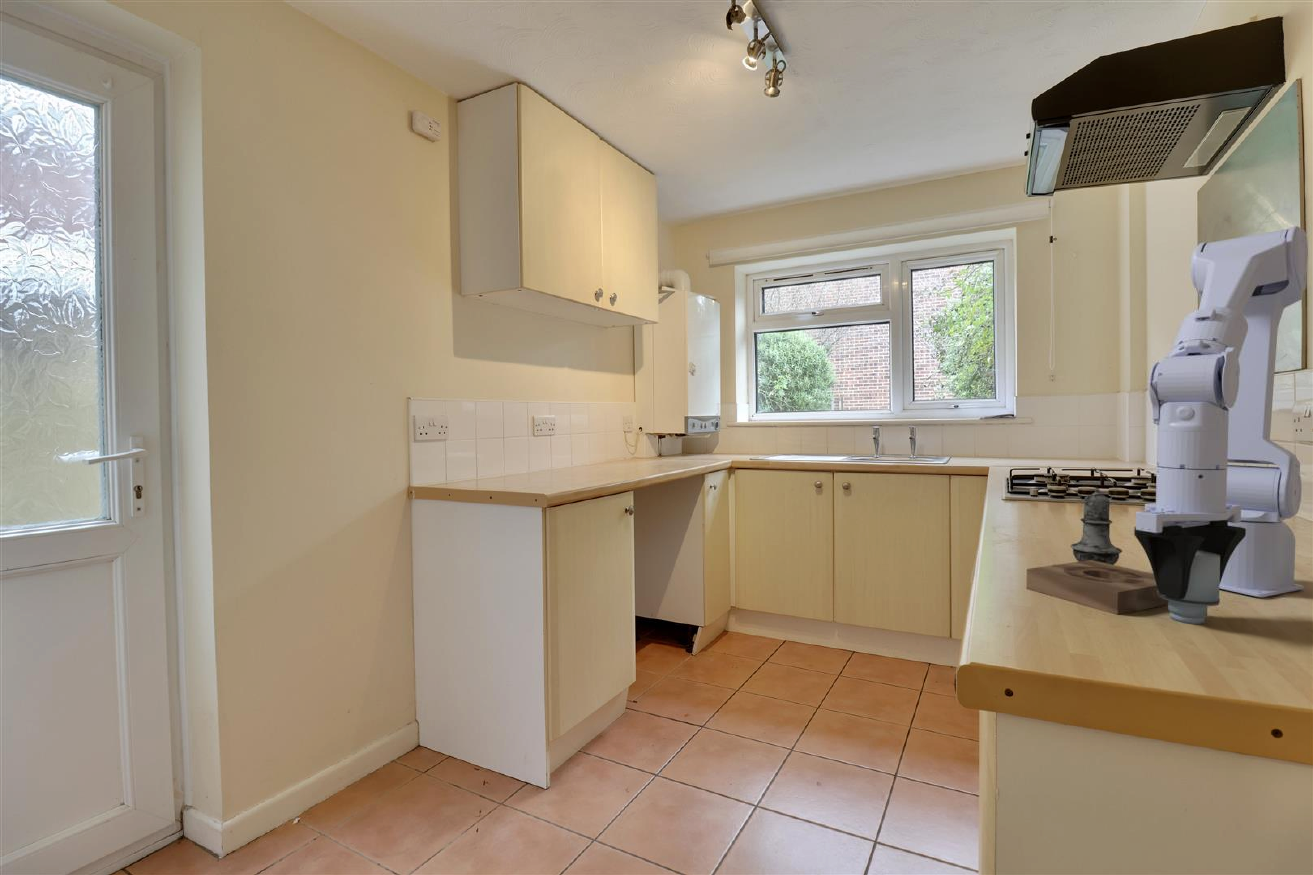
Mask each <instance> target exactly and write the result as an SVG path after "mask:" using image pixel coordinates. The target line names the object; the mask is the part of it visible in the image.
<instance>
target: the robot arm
mask: <svg viewBox="0 0 1313 875" xmlns="http://www.w3.org/2000/svg"><path fill="white" fill-rule="evenodd" d="M1308 258H1309V242H1308V236H1307V234H1306V231H1305V230H1304V229H1303V228H1301V227H1299V225H1294V226H1291V227H1289V228H1285V229H1280V230H1275V231H1269V232H1263V233H1258V234H1252V235H1247V236H1240V237H1235V238H1228V239H1223V240H1218V241H1213V242H1212V241H1211V242H1208V241H1205V242H1201V243H1199V244H1198V245H1197V246H1196V247H1195V249H1193V251H1192V254H1191V258H1190V278H1191V282H1192V285H1193V286H1194V288H1195V290H1196V292H1197V294H1198V296H1199V299H1200V303H1199V307H1198V309H1196V310H1193V311H1192V312H1190V313H1189V314H1188V315H1187V316H1185V317H1184V318H1183V319H1182V322H1181V324H1180V327H1179V328H1178V332H1177V333H1176V336H1175V339H1174V342H1173V343H1172V347H1171V348H1170V351H1169V353H1168V356H1165V357H1163V359H1162V360H1161V362H1159V361H1157V362H1154V364H1153V366H1152V367H1151V370H1150V374H1149V378H1148V380H1149V382H1148V390H1149V392H1148V393H1149V398H1150V403H1151V406H1152V420H1153V421H1152V423H1153V424H1154V425H1157V444H1156V445H1157V446H1156V480H1155V481H1156V486H1155V502H1151V503H1145V504H1144V510H1140V511H1136V512H1135V526H1134V529H1133V530H1134V532H1133V534H1134V537H1135V538H1136V540H1138V543H1140V545H1141V547H1142V548H1143V551H1144V552H1145V554H1146V557H1147V558H1148V561H1149V563H1150V567H1151V570H1152V573H1153V574H1154V578H1155V581H1156V585H1157V588H1158V591H1159V594H1161V595H1165V596H1169V597H1174V598H1178V599H1183V598H1185V595H1186V593H1187V589H1188V584H1189V577H1190V570H1191V566H1192V563H1193V559H1194V557H1195V554H1196V552H1197V550H1201V551H1207V552H1211V553H1215V554H1218V555H1220V583H1219V590H1220V589H1221V590H1224V591H1228V592H1234V593H1237V594H1243V595H1247V596H1253V597H1256V598H1267V597H1270V596H1276V595H1280V594H1286V593H1291V592H1295V591H1300V590H1304V589H1305V585H1303V584H1299V583H1295V567H1296V566H1295V565H1296V563H1295V562H1296V537H1295V534H1294V532H1293V530H1292V529H1291V528H1290V526H1288V524H1287V523H1285V522H1284V520H1286V519H1291V518H1293V517H1294V516H1296V515H1297V514H1298V513H1299V511H1300V506H1301V501H1302V491H1303V490H1302V477H1301V463H1300V460H1299V459H1298V458H1297V456H1296V454H1294V453H1293V452H1291V451H1290V450H1288V449H1287V448H1285V447H1283V446H1281V445H1280V444H1278V443H1276V442H1274V441H1272V439H1271V426H1272V413H1273V399H1274V398H1273V397H1274V386H1275V371H1276V359H1277V358H1276V356H1277V344H1278V343H1277V342H1278V331H1279V330H1278V329H1279V325H1280V322H1281V319H1282V317H1283V316H1282V315H1283V312H1284V310H1285V309H1286V308H1288V307H1290V306H1292V305H1294V304H1296V303H1297V302H1299V301H1302V300H1303V298H1304V297H1303V296H1304V295H1303V294H1304V291H1305V290H1306V288H1307V273H1308V260H1309V259H1308ZM1228 463H1237V464H1252V465H1236V464H1234V465H1233V464H1228ZM1253 464H1256V465H1257V466H1256V465H1253ZM1259 465H1261V466H1259ZM1262 465H1272V466H1262ZM1273 465H1275V466H1273Z"/></svg>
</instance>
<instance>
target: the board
mask: <svg viewBox="0 0 1313 875" xmlns="http://www.w3.org/2000/svg"><path fill="white" fill-rule="evenodd" d="M1026 589H1027V590H1031V591H1035V592H1037V591H1038V592H1037V593H1041V594H1045V595H1048V596H1052V597H1055V598H1059V599H1063V600H1065V601H1068V602H1073V603H1077V604H1080V605H1082V606H1086V607H1090V608H1093V609H1098V610H1101V611H1105V612H1108V613H1111V614H1115V615H1121V614H1126V613H1131V612H1137V611H1143V610H1146V609H1147V610H1148V609H1152V608H1157V607H1162V606H1168V600H1166V599H1163V598H1161V597H1159V596H1158V594H1157V590H1158V588H1157V585H1156V581H1155V578H1154V574H1153V572H1149V571H1148V572H1147V571H1143V570H1140V569H1139V570H1138V569H1133V568H1130V567H1125V566H1120V565H1115V564H1114V565H1111V564H1107V563H1102V562H1098V561H1093V560H1087V561H1080V562H1078V561H1073V562H1068V563H1067V562H1066V563H1060V564H1053V565H1046V566H1038V567H1032V568H1026Z"/></svg>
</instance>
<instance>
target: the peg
mask: <svg viewBox="0 0 1313 875" xmlns="http://www.w3.org/2000/svg"><path fill="white" fill-rule="evenodd" d="M1219 583H1220V555H1218V554H1215V553H1211V552H1207V551H1201V550H1197V552H1196V554H1195V557H1194V559H1193V563H1192V566H1191V570H1190V577H1189V584H1188V589H1187V593H1186V595H1185V598H1183V599H1178V598H1174V597H1169V596H1165V595H1161V594H1159V591H1158V590H1157V594H1158V596H1159V597H1161V598H1163V599H1166V600H1168V605H1167V611H1168V612H1169V613H1170V616H1169V617H1170V619H1172V620H1173V621H1176V622H1179V623H1183V624H1184V623H1185V624H1189V625H1190V624H1191V625H1204V624H1205V620H1206V619H1205V618H1207V617H1208V607H1214V606H1215V607H1216V606H1218V605H1219V604H1220V600H1221V598H1220V589H1219Z"/></svg>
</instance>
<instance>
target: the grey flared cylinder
mask: <svg viewBox="0 0 1313 875" xmlns="http://www.w3.org/2000/svg"><path fill="white" fill-rule="evenodd" d="M1093 491H1094V493H1092V494H1088V495H1086V496H1085V497H1084V502H1083V518H1080V522H1082V536H1081V539H1080V541H1078V542H1076V543H1072V544H1070V548H1071V549H1072V554H1073V556H1074V558H1075V560H1076V562H1080V561H1087V560H1093V561H1098V562H1102V563H1107V564H1111V565H1115V564H1116V563H1117V562H1118V560H1119V558H1120V554H1121V553H1123V550H1122V549H1121V548H1120V547H1117V546H1115V545H1113V543H1112V542H1111V541H1112V540H1111V537H1110V536H1111V535H1110V530H1111V528H1110V526H1111V524H1113V521H1112V520H1111V519H1110V499H1109V498H1108V497H1107V496H1105V495H1103V494H1102V493H1100V491H1101V490H1100V488H1098V487H1095V489H1094V490H1093Z"/></svg>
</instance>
